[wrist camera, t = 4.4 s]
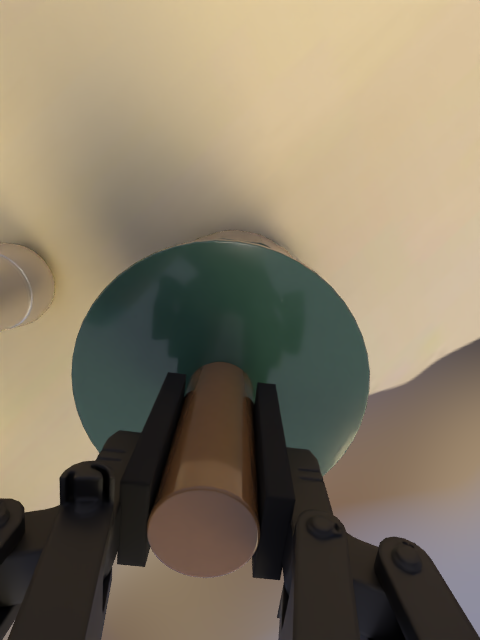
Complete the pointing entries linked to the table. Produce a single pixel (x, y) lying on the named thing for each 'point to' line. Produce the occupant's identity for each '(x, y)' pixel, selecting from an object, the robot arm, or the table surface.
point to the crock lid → (219, 383)
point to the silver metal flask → (23, 286)
